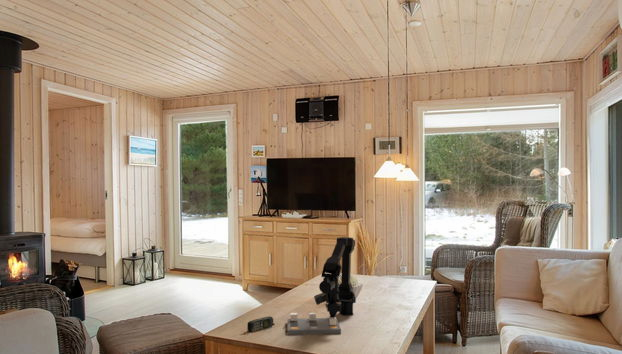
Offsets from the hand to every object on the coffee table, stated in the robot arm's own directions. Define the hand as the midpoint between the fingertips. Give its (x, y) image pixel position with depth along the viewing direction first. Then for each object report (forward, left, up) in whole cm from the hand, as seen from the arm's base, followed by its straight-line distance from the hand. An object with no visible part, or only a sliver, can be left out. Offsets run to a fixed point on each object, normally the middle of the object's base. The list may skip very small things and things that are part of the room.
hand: (331, 320), depth 202 cm
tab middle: (+9, -5, -1) cm, 10 cm away
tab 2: (0, +3, -1) cm, 3 cm away
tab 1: (+18, -5, -1) cm, 19 cm away
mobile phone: (+33, -1, -4) cm, 33 cm away
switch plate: (+9, 0, -3) cm, 9 cm away
